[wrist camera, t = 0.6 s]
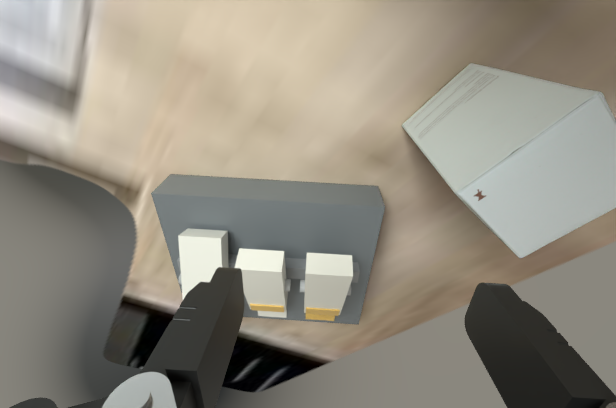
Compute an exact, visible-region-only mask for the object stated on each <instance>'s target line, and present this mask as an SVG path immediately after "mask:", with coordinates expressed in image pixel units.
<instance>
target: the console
mask: <svg viewBox="0 0 616 408" xmlns="http://www.w3.org/2000/svg"><path fill="white" fill-rule="evenodd" d="M151 194H152V198H153V201H154V204H155V207H156V211H157V214H158V217H159V220H160V224H161V227H162V230H163V233H164V237H165V240H166V243H167V246H168V250H169V253H170V256H171V259H172V263H173V266H174V269H175V272H176V276H177V279H178V280H179V275H180V273H181V269H180V255H179V241H178V235H180V234H181V233H182V232H184V231H185V230H186V229H188V228H190V229H206V230H223V231H228V265H229V268H235V264H236V260H237V256H238V252H239V248H242V249H258V250H274V251H284V254H285V266H286V278H287V279H291V286H290V291H288V298H287V307H286V312H271V311H256V310H251V309H250V307H249V305H248V302H247V300H246V297H245V295H244V314H243V317H255V318H270V319H285V320H300V321H315V322H330V323H345V324H359V320H360V315H361V311H362V307H363V302H364V298H365V293H366V289H367V285H368V280H369V276H370V271H371V267H372V262H373V258H374V254H375V249H376V245H377V240H378V236H379V232H380V227H381V223H382V218H383V214H384V210H385V205H384V202H383V199H382V196H381V193H380V191H379V188H378V186H367V185H349V184H332V183H315V182H297V181H280V180H262V179H245V178H228V177H210V176H193V175H175V174H170V175H169V176H168V177H167V178H166V179H165V180H164V181H163V182H162V183H161V184H160V185H159V186H158V187H157V188H156V189H155V190H154V191H153V192H152V193H151ZM307 253H323V254H339V255H352V263H353V278H352V281H351V295H347V296H346V299H345V302H344V305H343V307H342V310H341V313H340V315H338V316H332V315H317V314H306V313H304V297H305V292H300V280H305V272H306V257H307ZM179 285H180V289H181V292H182V285H181V284H179Z"/></svg>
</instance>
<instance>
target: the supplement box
mask: <svg viewBox="0 0 616 408" xmlns="http://www.w3.org/2000/svg"><path fill="white" fill-rule="evenodd" d="M402 127H403V128H404V130H405V131H406V132H407V133H408V135H409V136H410V137H411V138H412V140H413V141H414V142H415V143H416V145H417V146H418V147H419V149H420V150H421V151H422V152H423V154H424V155H425V156H426V157H427V159H428V160H429V161H430V162H431V164H432V165H433V166H434V168H435V169H436V170H437V171H438V173H439V174H440V175H441V177H442V178H443V179H444V180H445V182H446V183H447V184H448V185H449V187H450V188H451V189H452V191H453V192H454V193H455V194H456V195H457V196H458V197H459V198H460V200H461V201H462V202H463V203H464V204H465V205H466V206H467V207H468V208H469V209H470V210H471V211H472V212H473V213H474V214H475V215H476V216H477V217H478V218H479V219H480V220H481V221H482V222H483V223H484V224H485V225H486V226H487V227H488V228H489V229H490V230H491V231H492V232H493V233H494V234H495V235H496V236H497V237H498V238H499V239H500V240H501V241H502V242H503V243H504V244H505V245H507V246H508V247H509V248H510V249H511V250H512V251H513V252H514V253H515V254H516V255H517V256H518V257H519V258H523V257H525V256H527V255H529V254H531V253H532V252H534V251H536V250H538V249H540V248H542V247H543V246H545V245H547V244H549V243H551V242H553V241H554V240H556V239H558V238H560V237H562V236H564V235H566V234H568V233H569V232H571V231H573V230H575V229H577V228H579V227H581V226H583V225H584V224H586V223H588V222H590V221H592V220H594V219H596V218H598V217H599V216H601V215H603V214H605V213H607V212H609V211H611V210H613V209H614V208H616V120H615V118H614V116H613V114H612V112H611V110H610V108H609V106H608V104H607V102H606V100H605V97H604V95H603V93H602V92H599V91H594V90H588V89H583V88H578V87H573V86H568V85H564V84H560V83H556V82H551V81H547V80H543V79H538V78H534V77H530V76H526V75H522V74H518V73H514V72H509V71H505V70H501V69H497V68H492V67H487V66H482V65H478V64H474V63H470V64H469V65H468V66H467V67H465V68H464V69H463V70H462V71H461V72H460V73H459V74H457V75H456V76H455V77H454V78H453V79H452V80H451V81H450V82H449V83H447V84H446V85H445V86H444V87H443V88H442V89H441V90H440V91H439V92H437V93H436V94H435V95H434V96H433V97H432V98H431V99H430V100H429V101H428V102H426V103H425V104H424V105H423V106H422V107H421V108H420V109H419V110H418V111H416V112H415V113H414V114H413V115H412V116H411V117H410V118H409V119H408V120H407V121H405V122H404V123H403V124H402Z"/></svg>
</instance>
